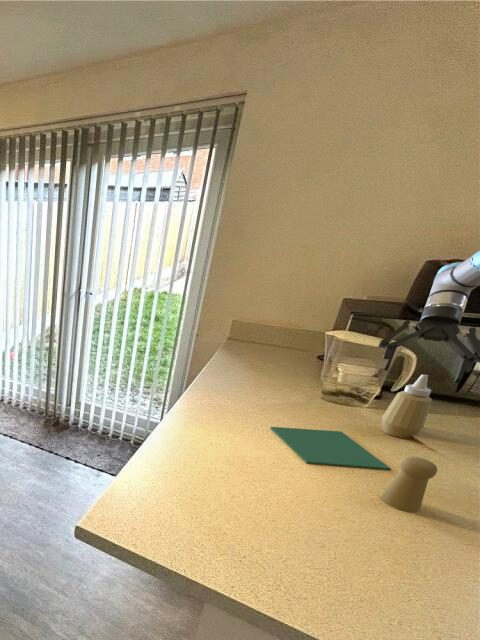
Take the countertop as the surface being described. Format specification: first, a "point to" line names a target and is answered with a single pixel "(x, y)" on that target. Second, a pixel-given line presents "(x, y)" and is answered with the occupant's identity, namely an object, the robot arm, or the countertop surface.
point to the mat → (328, 448)
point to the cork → (409, 484)
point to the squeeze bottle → (408, 410)
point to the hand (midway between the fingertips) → (420, 374)
